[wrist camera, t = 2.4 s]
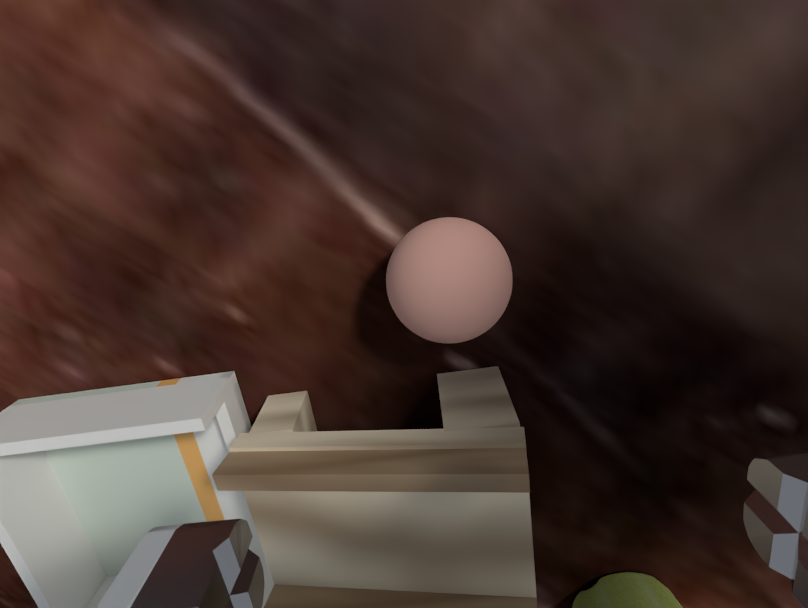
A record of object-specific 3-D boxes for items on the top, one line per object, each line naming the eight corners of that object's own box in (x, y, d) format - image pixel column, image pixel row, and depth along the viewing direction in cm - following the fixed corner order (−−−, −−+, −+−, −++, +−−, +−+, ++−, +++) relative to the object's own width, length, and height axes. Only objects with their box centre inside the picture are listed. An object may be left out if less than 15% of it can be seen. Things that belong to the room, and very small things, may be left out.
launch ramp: (252, 397, 24) (188, 509, 17) (500, 365, 23) (540, 468, 16) (292, 533, 27) (253, 674, 20) (512, 509, 26) (550, 646, 19)
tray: (18, 399, 24) (-54, 450, 20) (234, 371, 23) (200, 418, 19) (107, 575, 28) (60, 645, 24) (291, 555, 27) (273, 623, 24)
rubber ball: (379, 216, 20) (371, 243, 16) (494, 199, 20) (521, 221, 16) (397, 322, 22) (394, 374, 18) (503, 307, 22) (530, 356, 17)
